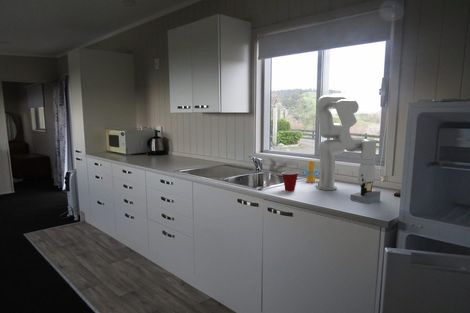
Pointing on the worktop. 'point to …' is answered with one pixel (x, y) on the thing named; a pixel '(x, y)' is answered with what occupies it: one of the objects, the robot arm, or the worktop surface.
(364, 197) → the jig
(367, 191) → the bushing
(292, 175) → the plastic cup
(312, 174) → the toy airplane
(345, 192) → the worktop surface
